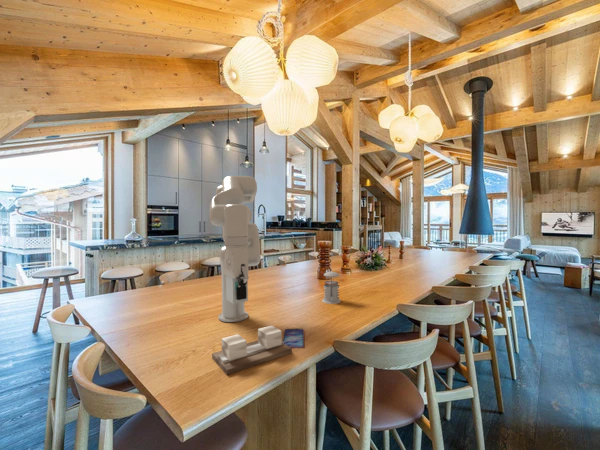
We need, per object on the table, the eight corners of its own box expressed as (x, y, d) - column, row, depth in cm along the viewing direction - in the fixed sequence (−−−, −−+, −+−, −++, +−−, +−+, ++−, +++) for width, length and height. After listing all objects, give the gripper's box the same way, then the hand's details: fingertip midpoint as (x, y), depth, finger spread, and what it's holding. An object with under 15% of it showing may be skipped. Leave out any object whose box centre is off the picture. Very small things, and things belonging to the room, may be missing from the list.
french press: (340, 298, 156) (340, 251, 155) (341, 305, 145) (341, 254, 144) (322, 297, 157) (322, 251, 156) (321, 304, 146) (321, 254, 145)
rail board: (212, 358, 92) (211, 336, 92) (272, 340, 105) (272, 321, 105) (226, 375, 82) (226, 351, 82) (291, 353, 95) (291, 332, 95)
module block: (226, 299, 97) (226, 275, 97) (240, 297, 100) (240, 273, 100) (233, 303, 92) (233, 278, 92) (248, 301, 95) (247, 276, 95)
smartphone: (281, 346, 99) (284, 328, 114) (282, 349, 99) (284, 331, 114) (303, 346, 99) (303, 328, 114) (303, 348, 99) (303, 330, 114)
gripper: (216, 241, 101) (217, 293, 101) (235, 244, 87) (236, 305, 87) (237, 240, 105) (237, 290, 105) (258, 243, 91) (259, 300, 91)
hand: (237, 296), depth 96 cm, fingers closed on module block, 6 cm apart
